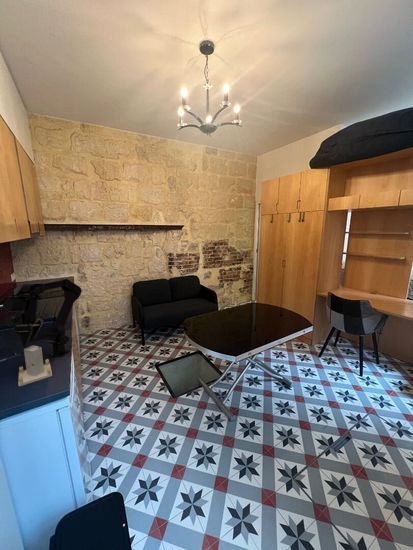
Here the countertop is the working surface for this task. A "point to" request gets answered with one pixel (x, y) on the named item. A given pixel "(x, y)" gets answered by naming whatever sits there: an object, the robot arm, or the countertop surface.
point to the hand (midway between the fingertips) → (28, 343)
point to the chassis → (27, 378)
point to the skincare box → (34, 360)
